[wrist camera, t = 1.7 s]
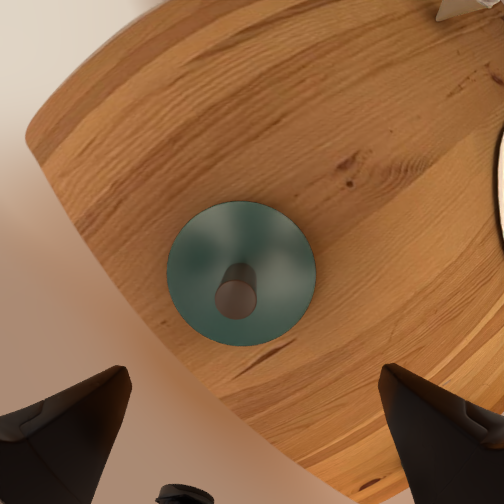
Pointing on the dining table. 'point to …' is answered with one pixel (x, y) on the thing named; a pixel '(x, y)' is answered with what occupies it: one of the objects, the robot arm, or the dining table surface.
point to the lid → (241, 273)
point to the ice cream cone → (461, 7)
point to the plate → (501, 184)
